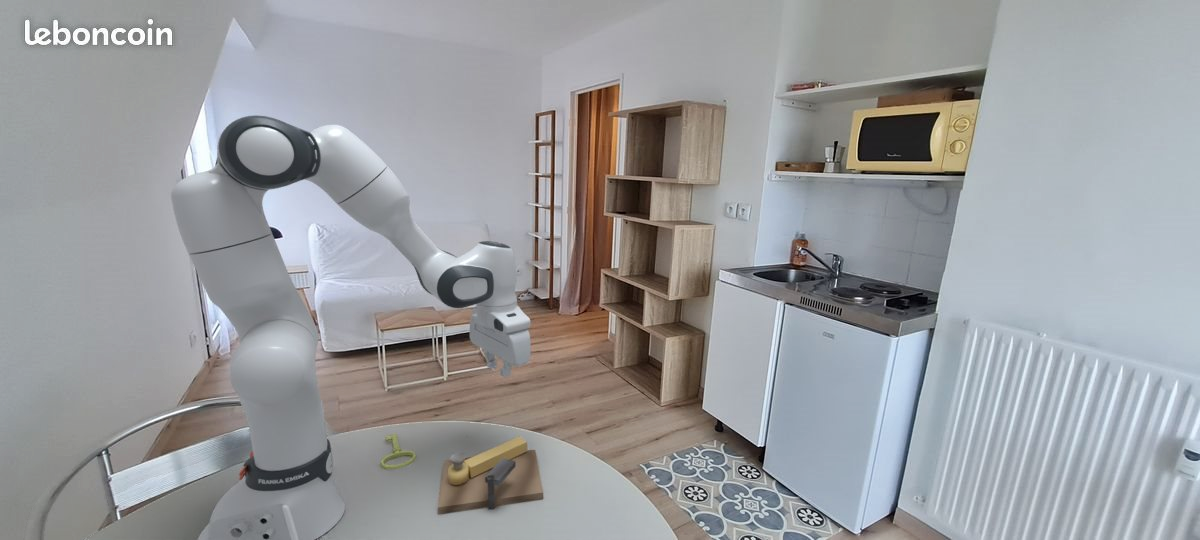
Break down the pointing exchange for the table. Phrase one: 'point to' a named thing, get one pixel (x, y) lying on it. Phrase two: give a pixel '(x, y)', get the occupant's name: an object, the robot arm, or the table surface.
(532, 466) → the board
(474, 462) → the link
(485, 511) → the table surface
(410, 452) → the key
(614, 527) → the table surface
